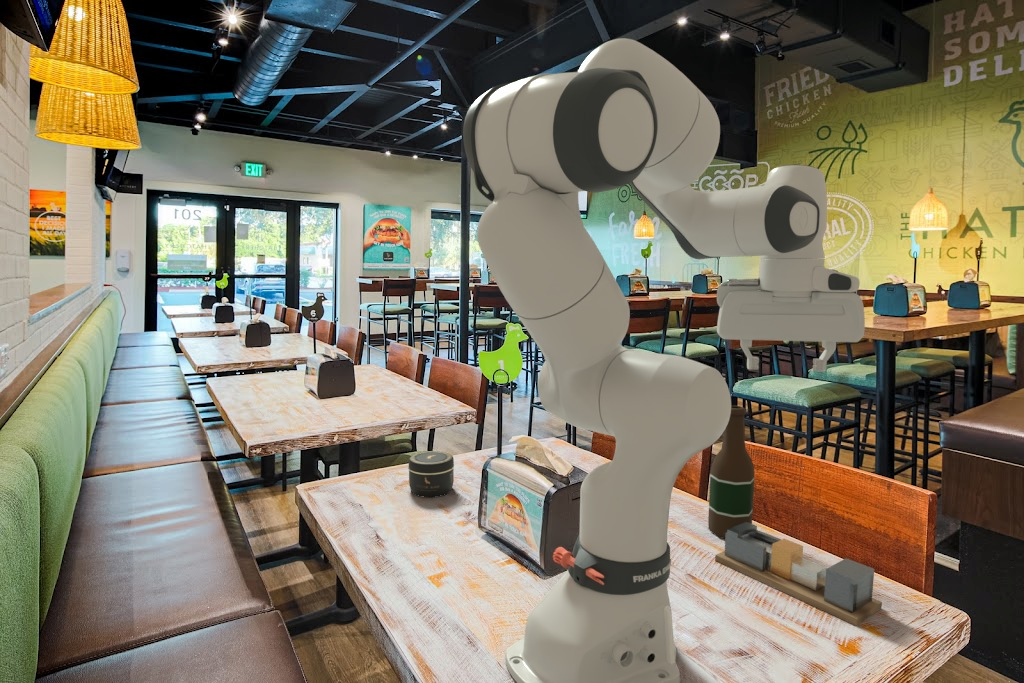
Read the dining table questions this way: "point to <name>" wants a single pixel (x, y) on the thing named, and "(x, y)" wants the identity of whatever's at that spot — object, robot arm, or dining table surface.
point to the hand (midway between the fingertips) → (785, 370)
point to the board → (802, 591)
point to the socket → (849, 585)
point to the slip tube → (792, 563)
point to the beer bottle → (731, 479)
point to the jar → (431, 473)
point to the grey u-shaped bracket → (747, 545)
